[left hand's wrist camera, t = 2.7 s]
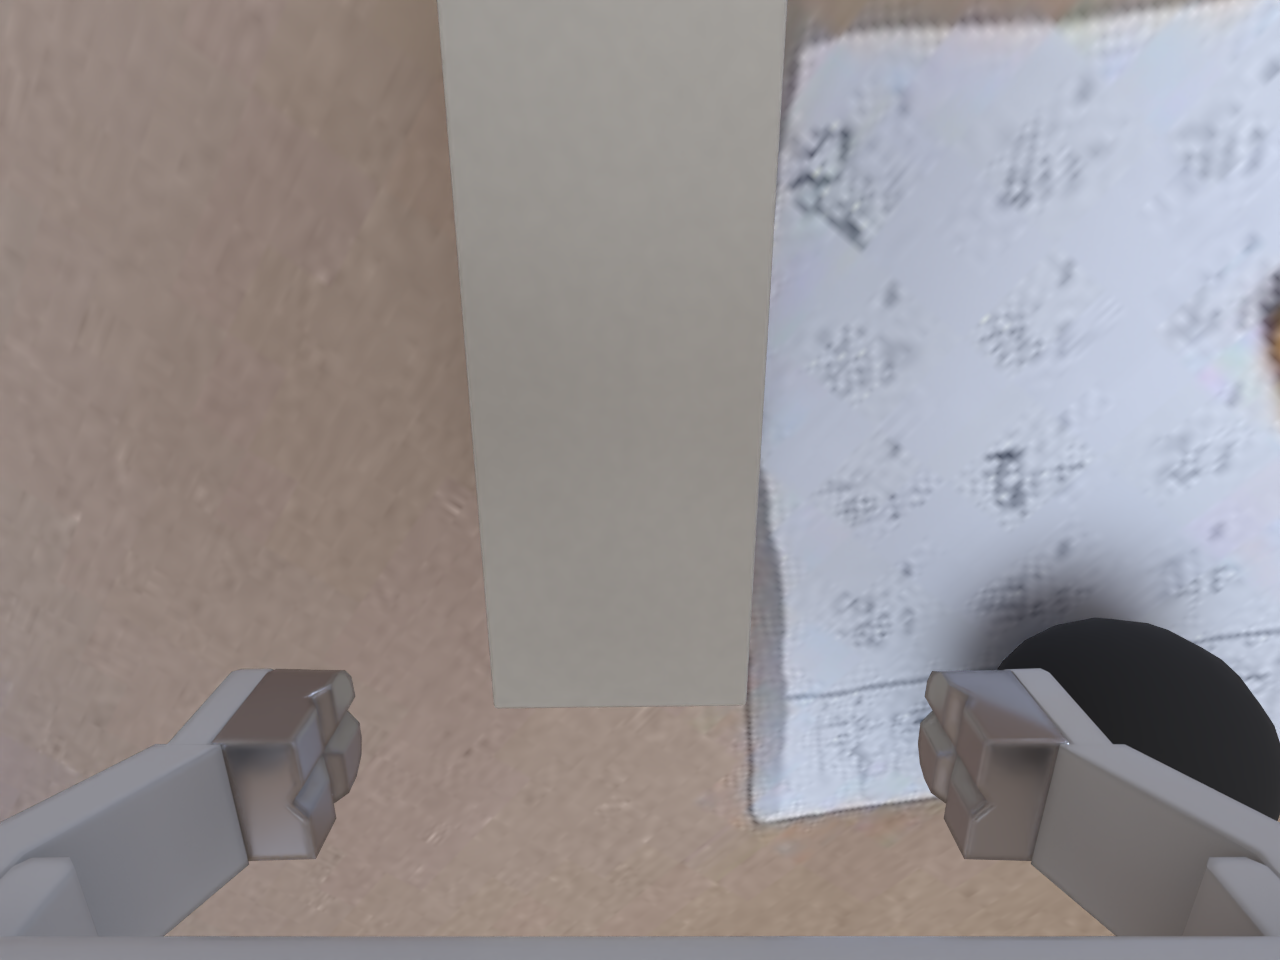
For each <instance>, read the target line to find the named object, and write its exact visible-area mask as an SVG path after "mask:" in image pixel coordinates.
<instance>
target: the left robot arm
mask: <svg viewBox="0 0 1280 960" xmlns="http://www.w3.org/2000/svg"><path fill="white" fill-rule="evenodd" d="M354 698H355V692H354V687H353V682H352V677H351V676H350V675H349V674H348V673H347V672H346V671H345V670H304V669H275V670H273V669H239V670H236V671H233V672H231V673H230V674H229V675H228V676H227V677H226V678H225V679H224V681H223V682H222V683H221V684H220V685H219V686H218V687H217V688H216V690H215V691H214V692H213V693H212V694H211V695H210V696H209V697H208V699H207V700H206V701H205V702H204V703H203V704H202V705H201V707H200V708H199V709H198V710H197V711H196V712H195V713H194V714H193V716H192V717H191V718H190V719H189V720H188V721H187V722H186V723H185V725H184V726H183V727H182V728H181V729H180V730H179V731H178V732H177V734H176V735H175V736H174V737H173V738H172V739H171V740H170V741H169V743H168V744H155V745H153V746H151V747H149V748H147V749H145V750H143V751H141V752H139V753H137V754H135V755H133V756H131V757H129V758H127V759H125V760H123V761H121V762H119V763H117V764H115V765H113V766H111V767H109V768H107V769H105V770H103V771H101V772H99V773H97V774H95V775H93V776H91V777H89V778H87V779H85V780H83V781H82V782H80V783H78V784H76V785H74V786H72V787H70V788H68V789H66V790H64V791H62V792H60V793H58V794H56V795H54V796H52V797H50V798H48V799H46V800H44V801H42V802H40V803H38V804H36V805H34V806H32V807H30V808H28V809H26V810H24V811H22V812H20V813H18V814H16V815H14V816H12V817H10V818H8V819H6V820H4V821H2V822H0V960H1280V823H1279V822H1277V821H1276V820H1274V819H1272V818H1270V817H1268V816H1266V815H1264V814H1262V813H1260V812H1258V811H1256V810H1254V809H1252V808H1250V807H1248V806H1246V805H1244V804H1242V803H1240V802H1238V801H1236V800H1234V799H1232V798H1230V797H1228V796H1226V795H1224V794H1222V793H1220V792H1218V791H1216V790H1214V789H1212V788H1210V787H1208V786H1206V785H1204V784H1202V783H1200V782H1198V781H1196V780H1194V779H1192V778H1190V777H1188V776H1186V775H1184V774H1182V773H1180V772H1179V771H1177V770H1175V769H1173V768H1171V767H1169V766H1167V765H1165V764H1163V763H1161V762H1159V761H1157V760H1155V759H1153V758H1151V757H1149V756H1147V755H1145V754H1143V753H1141V752H1139V751H1137V750H1135V749H1133V748H1131V747H1129V746H1127V745H1125V744H1112V743H1111V741H1110V740H1109V739H1108V738H1107V737H1106V736H1105V735H1104V734H1103V732H1102V731H1101V730H1100V729H1099V728H1098V727H1097V726H1096V725H1095V723H1094V722H1093V721H1092V720H1091V719H1090V718H1089V717H1088V716H1087V714H1086V713H1085V712H1084V711H1083V710H1082V709H1081V708H1080V707H1079V705H1078V704H1077V703H1076V702H1075V701H1074V700H1073V699H1072V697H1071V696H1070V695H1069V694H1068V693H1067V692H1066V691H1065V690H1064V688H1063V687H1062V686H1061V685H1060V684H1059V683H1058V682H1057V681H1056V679H1055V678H1054V677H1053V676H1052V675H1051V674H1050V673H1049V672H1047V671H1045V670H1043V669H1041V668H1033V669H1004V670H986V671H932V673H931V675H930V677H929V679H928V681H927V686H926V692H925V698H926V699H927V701H928V703H929V705H930V706H931V708H932V710H933V711H932V712H931V713H930V714H929V715H928V716H927V717H926V718H925V719H924V720H923V721H922V722H921V723H920V731H919V740H918V748H919V759H920V765H921V769H922V772H923V776H924V779H925V781H926V783H927V785H928V787H929V789H930V792H931V793H932V794H934V795H935V796H936V797H938V798H939V799H941V800H942V801H943V802H945V803H946V808H945V814H944V820H945V822H946V824H947V826H948V828H949V830H950V832H951V834H952V836H953V838H954V840H955V842H956V844H957V846H958V848H959V849H960V851H961V853H962V855H963V857H964V859H984V860H1019V861H1032V862H1031V864H1032V865H1033V866H1034V867H1035V868H1036V869H1038V870H1039V871H1040V872H1041V873H1042V874H1043V875H1045V876H1046V877H1047V878H1048V879H1049V880H1051V881H1052V882H1053V883H1054V884H1055V885H1056V886H1058V887H1059V888H1060V889H1061V890H1062V891H1064V892H1065V893H1066V894H1067V895H1068V896H1069V897H1071V898H1072V899H1073V900H1074V901H1075V902H1077V903H1078V904H1079V905H1080V906H1081V907H1082V908H1084V909H1085V910H1086V911H1087V912H1088V913H1090V914H1091V915H1092V916H1093V917H1094V918H1095V919H1097V920H1098V921H1099V922H1100V923H1101V924H1103V925H1104V926H1105V927H1106V928H1107V929H1108V930H1110V931H1111V932H1112V933H1113V934H1114V935H1116V936H1062V937H1001V936H581V937H271V936H269V937H268V936H165V935H166V934H167V933H168V932H169V931H171V930H172V929H173V928H174V927H175V926H176V925H178V924H179V923H180V922H181V921H182V920H184V919H185V918H186V917H187V916H188V915H190V914H191V913H192V912H193V911H194V910H195V909H197V908H198V907H199V906H200V905H201V904H203V903H204V902H205V901H206V900H207V899H208V898H210V897H211V896H212V895H213V894H214V893H216V892H217V891H218V890H219V889H220V888H222V887H223V886H224V885H225V884H226V883H227V882H229V881H230V880H231V879H232V878H233V877H235V876H236V875H237V874H238V873H239V872H240V871H242V870H243V869H244V868H245V867H246V866H248V865H249V862H248V861H261V860H295V859H316V858H317V856H318V854H319V852H320V850H321V848H322V846H323V844H324V842H325V840H326V838H327V836H328V834H329V832H330V830H331V828H332V826H333V824H334V822H335V820H336V814H335V808H334V803H335V802H337V801H338V800H339V799H341V798H342V797H344V796H345V795H346V794H348V793H349V792H350V789H351V787H352V785H353V783H354V781H355V779H356V777H357V772H358V768H359V763H360V759H361V746H362V737H361V730H360V723H359V722H358V721H357V720H356V719H355V718H354V717H353V716H352V715H351V714H350V713H349V712H348V711H347V710H348V708H349V706H350V705H351V703H352V701H353V699H354Z"/></svg>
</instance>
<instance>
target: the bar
mask: <svg viewBox="0 0 1280 960" xmlns="http://www.w3.org/2000/svg"><path fill="white" fill-rule="evenodd" d="M437 9H438V22H439V34H440V46H441V59H442V71H443V83H444V96H445V108H446V121H447V133H448V145H449V158H450V170H451V182H452V195H453V207H454V219H455V232H456V244H457V256H458V269H459V281H460V293H461V306H462V318H463V331H464V343H465V355H466V368H467V380H468V392H469V405H470V417H471V429H472V442H473V454H474V466H475V479H476V491H477V504H478V516H479V528H480V541H481V553H482V565H483V578H484V590H485V602H486V615H487V627H488V639H489V652H490V664H491V676H492V689H493V701H494V706H495V708H572V707H658V706H742V705H745V703H746V694H747V677H748V660H749V643H750V626H751V609H752V592H753V575H754V558H755V542H756V525H757V508H758V491H759V474H760V457H761V440H762V423H763V406H764V389H765V372H766V355H767V338H768V321H769V304H770V287H771V270H772V253H773V236H774V220H775V203H776V186H777V169H778V152H779V135H780V118H781V101H782V84H783V67H784V50H785V33H786V16H787V0H437Z"/></svg>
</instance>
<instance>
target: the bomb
mask: <svg viewBox="0 0 1280 960" xmlns="http://www.w3.org/2000/svg"><path fill="white" fill-rule="evenodd" d="M1033 668H1041V669H1043V670H1045V671H1047V672H1049V673H1050V674H1051V675H1052V676H1053V677H1054V678H1055V679H1056V681H1057V682H1058V683H1059V684H1060V685H1061V686H1062V687H1063V688H1064V690H1065V691H1066V692H1067V693H1068V694H1069V695H1070V696H1071V697H1072V699H1073V700H1074V701H1075V702H1076V703H1077V704H1078V705H1079V707H1080V708H1081V709H1082V710H1083V711H1084V712H1085V713H1086V714H1087V716H1088V717H1089V718H1090V719H1091V720H1092V721H1093V722H1094V723H1095V725H1096V726H1097V727H1098V728H1099V729H1100V730H1101V731H1102V732H1103V734H1104V735H1105V736H1106V737H1107V738H1108V739H1109V740H1110V741H1111V743H1112V744H1125V745H1127V746H1129V747H1131V748H1133V749H1135V750H1137V751H1139V752H1141V753H1143V754H1145V755H1147V756H1149V757H1151V758H1153V759H1155V760H1157V761H1159V762H1161V763H1163V764H1165V765H1167V766H1169V767H1171V768H1173V769H1175V770H1177V771H1179V772H1180V773H1182V774H1184V775H1186V776H1188V777H1190V778H1192V779H1194V780H1196V781H1198V782H1200V783H1202V784H1204V785H1206V786H1208V787H1210V788H1212V789H1214V790H1216V791H1218V792H1220V793H1222V794H1224V795H1226V796H1228V797H1230V798H1232V799H1234V800H1236V801H1238V802H1240V803H1242V804H1244V805H1246V806H1248V807H1250V808H1252V809H1254V810H1256V811H1258V812H1260V813H1262V814H1264V815H1266V816H1268V817H1270V818H1272V819H1274V820H1276V821H1278V818H1279V815H1280V742H1279V739H1278V736H1277V733H1276V730H1275V726H1274V725H1273V723H1272V721H1271V720H1270V718H1269V717H1268V715H1267V714H1266V712H1265V711H1264V709H1263V708H1262V706H1261V705H1260V703H1259V702H1258V701H1257V699H1256V698H1255V697H1254V695H1253V694H1252V693H1251V691H1250V690H1249V689H1248V687H1247V686H1246V684H1245V683H1244V682H1243V680H1242V679H1241V678H1240V677H1239V676H1238V675H1237V674H1236V673H1235V672H1234V671H1233V670H1232V669H1231V668H1230V667H1229V666H1228V665H1227V664H1226V663H1225V662H1224V661H1223V660H1221V659H1220V658H1218V657H1216V656H1215V655H1213V654H1211V653H1210V652H1208V651H1206V650H1205V649H1203V648H1201V647H1200V646H1198V645H1196V644H1194V643H1192V642H1190V641H1188V640H1186V639H1184V638H1182V637H1180V636H1178V635H1176V634H1175V633H1173V632H1171V631H1169V630H1166V629H1163V628H1160V627H1157V626H1154V625H1151V624H1148V623H1141V622H1132V621H1123V620H1114V619H1103V618H1091V619H1086V620H1081V621H1075V622H1070V623H1065V624H1060V625H1057V626H1054V627H1051V628H1049V629H1047V630H1045V631H1043V632H1041V633H1039V634H1037V635H1035V636H1033V637H1031V638H1029V639H1027V640H1025V641H1024V642H1023V643H1022V644H1021V645H1020V646H1019V647H1018V648H1016V649H1015V650H1014V651H1013V652H1012V653H1011V654H1010V655H1009V656H1008V657H1007V658H1006V659H1005V660H1003V662H1002V663H1001V665H1000V666H999V668H998V670H1004V669H1033Z"/></svg>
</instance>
